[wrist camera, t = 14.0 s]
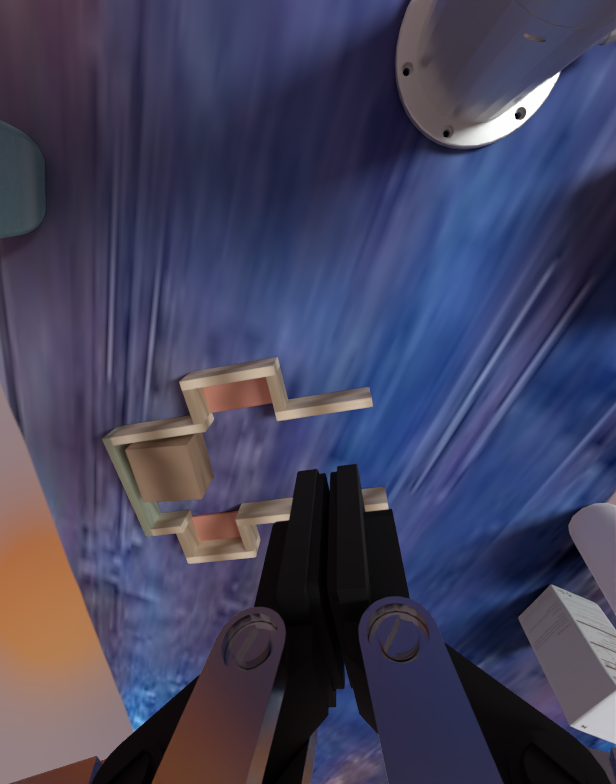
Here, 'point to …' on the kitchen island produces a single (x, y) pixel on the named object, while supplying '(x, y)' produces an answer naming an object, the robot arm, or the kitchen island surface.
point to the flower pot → (20, 182)
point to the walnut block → (171, 468)
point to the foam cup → (598, 544)
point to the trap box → (203, 397)
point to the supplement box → (576, 658)
